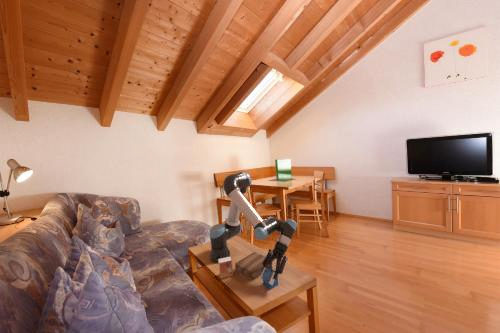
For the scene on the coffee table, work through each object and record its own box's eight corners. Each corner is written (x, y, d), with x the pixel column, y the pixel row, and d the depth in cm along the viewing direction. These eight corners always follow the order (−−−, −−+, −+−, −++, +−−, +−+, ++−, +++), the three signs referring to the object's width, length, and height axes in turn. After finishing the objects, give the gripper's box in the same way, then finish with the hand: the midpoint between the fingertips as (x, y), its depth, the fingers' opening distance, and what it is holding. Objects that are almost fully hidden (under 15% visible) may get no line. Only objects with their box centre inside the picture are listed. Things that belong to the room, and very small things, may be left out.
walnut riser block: (235, 271, 145) (234, 263, 144) (254, 259, 157) (254, 252, 156) (253, 281, 133) (252, 272, 132) (272, 267, 146) (271, 259, 145)
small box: (220, 279, 138) (218, 263, 137) (219, 274, 143) (217, 258, 142) (233, 275, 140) (231, 260, 139) (231, 271, 145) (229, 256, 144)
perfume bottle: (270, 289, 124) (268, 269, 122) (263, 284, 129) (261, 265, 127) (278, 284, 127) (276, 265, 126) (271, 279, 132) (269, 261, 131)
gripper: (298, 251, 129) (282, 291, 120) (274, 241, 143) (258, 276, 135) (292, 246, 125) (275, 287, 116) (267, 236, 139) (250, 272, 131)
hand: (265, 281), depth 125 cm, fingers closed on perfume bottle, 6 cm apart
